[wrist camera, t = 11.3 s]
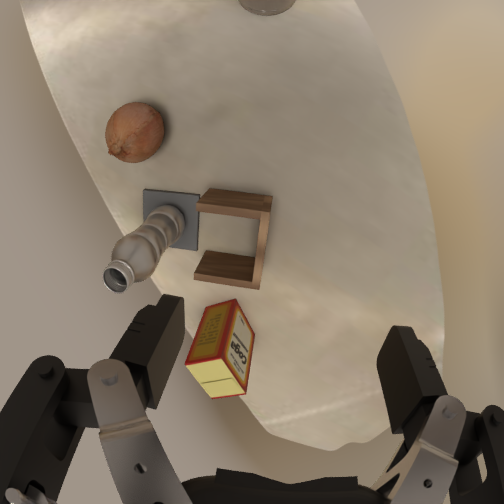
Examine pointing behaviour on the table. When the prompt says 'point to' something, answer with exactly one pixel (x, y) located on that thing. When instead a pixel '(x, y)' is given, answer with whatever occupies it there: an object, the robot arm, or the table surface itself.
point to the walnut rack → (230, 265)
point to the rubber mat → (184, 205)
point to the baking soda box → (222, 350)
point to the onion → (134, 132)
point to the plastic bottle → (143, 248)
